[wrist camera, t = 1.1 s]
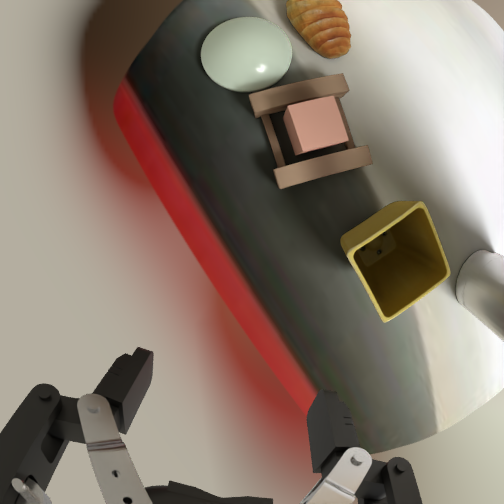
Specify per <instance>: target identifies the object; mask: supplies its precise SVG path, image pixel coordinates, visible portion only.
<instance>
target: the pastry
mask: <svg viewBox="0 0 504 504" xmlns="http://www.w3.org/2000/svg"><path fill="white" fill-rule="evenodd" d="M286 8H287V16H288V18H289V20H290V22H291V24H292V25H293V26H294V28H295V29H296V30H297V32H298V33H299V34H300V35H301V36H302V37H303V38H304V40H305V41H306V42H307V43H308V44H309V45H310V46H311V47H312V49H313V50H314V51H315V52H317V53H319V54H320V55H321V56H323V57H325V58H329V59H332V58H338V57H340V56H342V55H345V54H346V53H347V52H348V51H349V49H350V47H351V45H350V37H351V34H350V31H349V24H348V18H347V16H346V15H345V13H344V11H343V10H341V9H342V5H341V4H340V2H339V1H337V0H288V1H287V2H286Z"/></svg>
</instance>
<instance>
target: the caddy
mask: <svg viewBox="0 0 504 504" xmlns="http://www.w3.org/2000/svg"><path fill="white" fill-rule="evenodd" d="M348 91H349V88H348V85H347V83H346V80H345V77H344V75H343V73H342V74H336V75H330V76H324V77H319V78H314V79H309V80H304V81H300V82H295V83H291V84H287V85H283V86H279V87H275V88H271V89H267V90H263V91H260V92H256V93H253V94H249V99H250V103H251V106H252V109H253V112H254V115H255V118H259V117H261V118H262V121H263V124H264V127H265V130H266V133H267V136H268V139H269V142H270V145H271V148H272V151H273V154H274V157H275V160H276V163H277V166H278V168H277V169H274V170H273V172H274V175H275V178H276V182H277V185H278V188H280V189H282V188H285V187H289V186H292V185H296V184H299V183H303V182H306V181H310V180H313V179H317V178H321V177H324V176H328V175H332V174H336V173H339V172H343V171H347V170H351V169H355V168H359V167H363V166H367V165H371V164H373V162H372V158H371V155H370V151H369V148H368V145H366V146H361V147H357V148H355V145H354V142H353V139H352V136H351V132H350V129H349V126H348V123H347V120H346V117H345V114H344V111H343V108H342V106H341V103H340V100H339V98H341V97H343V96H344V95H345V94H346V93H347V92H348ZM329 96H334V98H335V101H336V104H337V106H338V109H339V112H340V115H341V118H342V121H343V124H344V127H345V130H346V133H347V136H348V139H349V141H346V142H344V143H345V146H346V150H344V151H340V152H336V153H332V154H328V155H324V156H320V157H316V158H313V159H309V160H305V161H302V162H298V163H294V164H291V165H287V166H286V165H285V162H284V159H283V156H282V153H281V149H280V146H279V143H278V140H277V137H276V134H275V131H274V128H273V125H272V123H271V120H270V117H269V114H273V113H276V112H280V111H284V110H286V109H287V106H289V105H293V104H297V103H301V102H305V101H310V100H314V99H319V98H324V97H329Z"/></svg>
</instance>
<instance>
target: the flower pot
mask: <svg viewBox="0 0 504 504" xmlns="http://www.w3.org/2000/svg"><path fill="white" fill-rule="evenodd" d="M383 232H386V235H385V236H383V235H382V233H383ZM340 243H341V246H342V248H343V250H344V252H345V254H346V256H347V258H348V260H349V261H350V263H351V265H352V266H353V268H354V270H355V271H356V273H357V275H358V277H359V278H360V280H361V282H362V284H363V286H364V287H365V289H366V291H367V293H368V295H369V297H370V299H371V301H372V302H373V304H374V306H375V308H376V310H377V312H378V314H379V316H380V318H381V320H382V321H383V322H387V321H389V320H391V319H393V318H394V317H396V316H397V315H399V314H401V313H402V312H403V311H405V310H406V309H407V308H409V307H410V306H412V305H413V304H415V303H416V302H417V301H419V300H420V299H421V298H423V297H424V296H425V295H427V294H428V293H429V292H431V291H432V290H433V289H434V288H436V287H437V286H439V285H440V284H441V283H442V282H443V281H445V280H446V279H447V278H448V277H449V276H450V274H451V272H450V268H449V264H448V261H447V259H446V256H445V253H444V250H443V248H442V245H441V242H440V240H439V237H438V234H437V232H436V229H435V227H434V224H433V221H432V219H431V216H430V214H429V211H428V209H427V207H426V205H425V204H424V203H423V202H422V201H396V202H393V203H390V204H389V205H387V206H385V207H384V208H382V209H381V210H380V211H378V212H377V213H375V214H374V215H372V216H371V217H369V218H368V219H366V220H365V221H363V222H362V223H360V224H359V225H357V226H356V227H354V228H353V229H351V230H350V231H348V232H347V233H345V234H344V235H343V236H342V237H341V239H340ZM362 246H364V247H365V249H364V250H361V249H360V248H361V247H362ZM378 250H381V253H380V254H378V253H377V251H378Z"/></svg>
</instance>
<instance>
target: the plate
mask: <svg viewBox="0 0 504 504" xmlns="http://www.w3.org/2000/svg"><path fill="white" fill-rule="evenodd" d="M291 59H292V47H291V43H290V40H289V38H288V37H287V35H286V34H285V33H284V31H283V30H282V29H281V28H279V27H278V26H277V25H275V24H273V23H272V22H269V21H267V20H264V19H261V18H256V17H240V18H235V19H231V20H228V21H226V22H224V23H222V24H220V25H218V26H217V27H216V28H214V29H213V30H212V31H211V32H210V33H209V35H208V36H207V37H206V39H205V41H204V43H203V45H202V49H201V61H202V65H203V67H204V69H205V71H206V73H207V74H208V76H209V77H210V78H211V79H212V80H213V81H214V82H215V83H216V84H218V85H219V86H221V87H223V88H225V89H228V90H231V91H235V92H256V91H261V90H263V89H266V88H268V87H271V86H272V85H274V84H276V83H277V82H278V81H279V80H281V78H282V77H283V76H284V75H285V74H286V72H287V70H288V68H289V66H290V63H291Z"/></svg>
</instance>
